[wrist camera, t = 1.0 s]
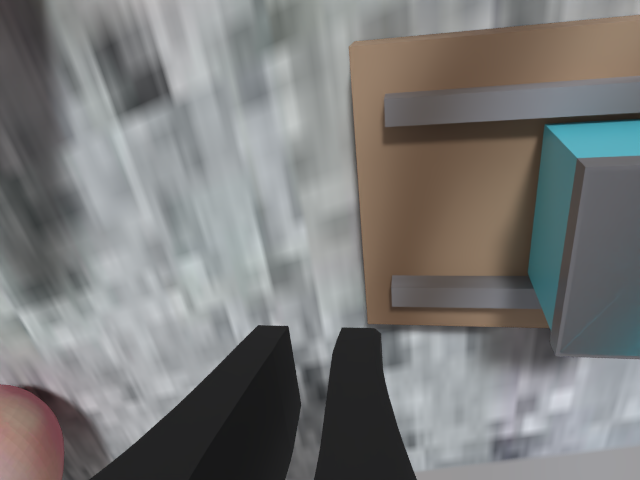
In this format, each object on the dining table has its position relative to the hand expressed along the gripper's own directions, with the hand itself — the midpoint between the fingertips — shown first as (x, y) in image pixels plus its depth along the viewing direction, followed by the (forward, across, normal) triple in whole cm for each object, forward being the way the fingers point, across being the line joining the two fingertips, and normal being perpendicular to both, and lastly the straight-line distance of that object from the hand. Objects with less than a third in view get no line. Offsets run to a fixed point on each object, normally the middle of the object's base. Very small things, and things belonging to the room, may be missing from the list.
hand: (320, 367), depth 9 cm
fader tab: (+8, -7, 0) cm, 10 cm away
